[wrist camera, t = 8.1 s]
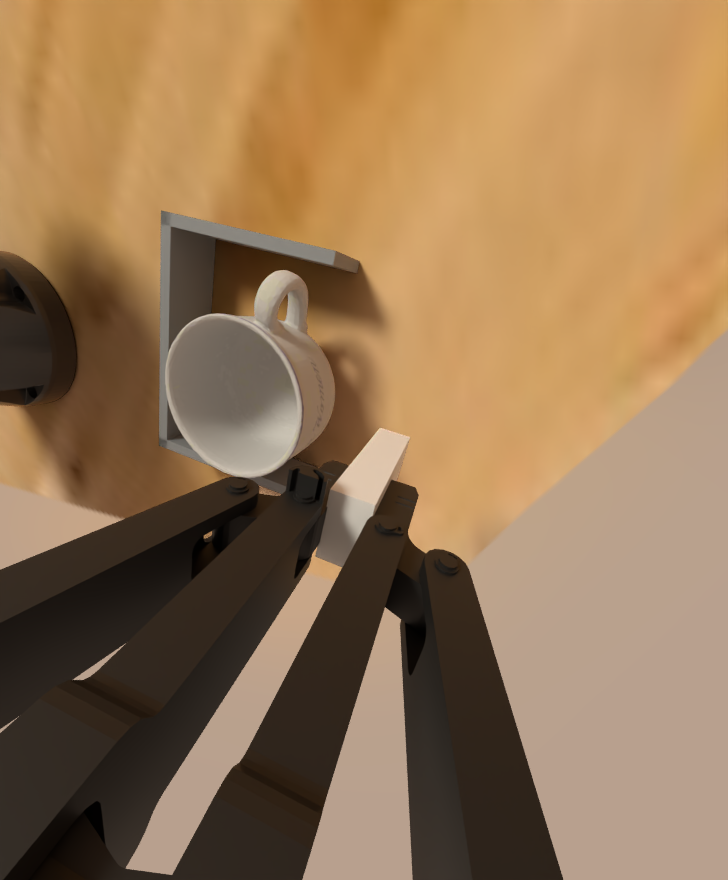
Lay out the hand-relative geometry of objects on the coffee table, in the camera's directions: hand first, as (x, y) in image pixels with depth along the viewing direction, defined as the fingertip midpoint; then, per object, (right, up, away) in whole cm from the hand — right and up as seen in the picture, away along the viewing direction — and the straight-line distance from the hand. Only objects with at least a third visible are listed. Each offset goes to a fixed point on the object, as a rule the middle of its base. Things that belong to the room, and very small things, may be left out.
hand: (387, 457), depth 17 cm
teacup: (-7, +7, +12) cm, 16 cm away
